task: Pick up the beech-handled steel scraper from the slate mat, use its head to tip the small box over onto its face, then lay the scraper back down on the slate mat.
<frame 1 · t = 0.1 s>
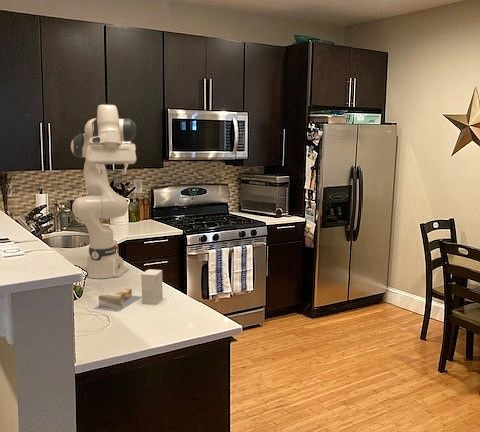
hand: (112, 174, 213), 52 cm above the worktop, tool tilted 20°, fingers open, 8 cm apart
small box: (152, 303, 214), on the worktop
scraper: (118, 302, 212), point 1 cm above the worktop, touching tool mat
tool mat: (118, 303, 212), on the worktop
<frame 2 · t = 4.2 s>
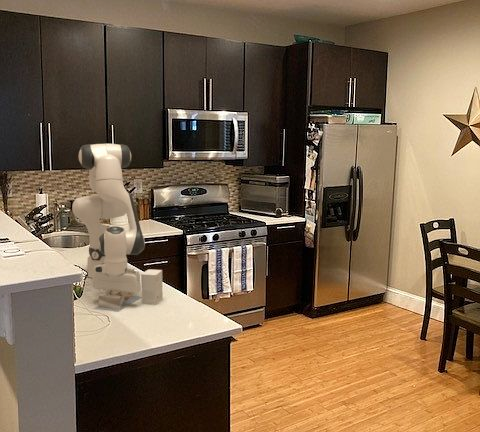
hand: (116, 301, 210), 2 cm above the worktop, tool pointing down, fingers closed on scraper, 3 cm apart
scraper: (118, 302, 212), point 1 cm above the worktop, touching gripper, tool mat
everything else where it was.
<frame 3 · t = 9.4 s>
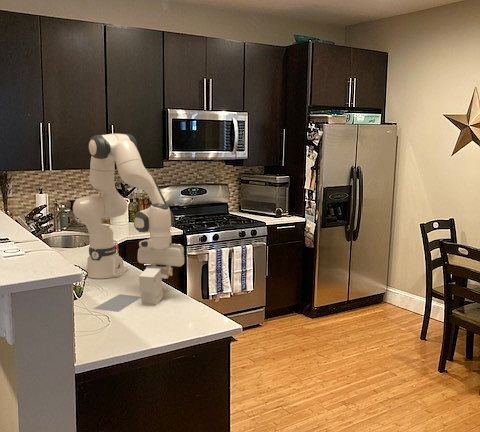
hand: (161, 274, 220), 10 cm above the worktop, tool pointing down, fingers closed on scraper, 3 cm apart
small box: (152, 301, 214), point 1 cm above the worktop, touching scraper
scraper: (162, 276, 222), point 9 cm above the worktop, tilted 11°, touching gripper, small box
when the fingers open (3 cm above the worktop, at t = 17.2 s): scraper drops 1 cm, resting on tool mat.
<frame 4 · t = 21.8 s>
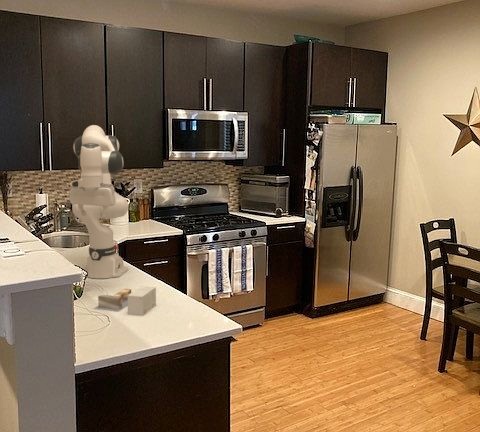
hand: (93, 215, 219), 34 cm above the worktop, tool pointing down, fingers open, 8 cm apart
small box: (149, 296, 210), point 4 cm above the worktop
scraper: (118, 302, 212), point 1 cm above the worktop, touching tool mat
at the end: small box tilted 90°; scraper inside the target area on the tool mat (0.3 cm from its centre), point 0.6 cm above the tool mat's base; the gripper is holding nothing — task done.
